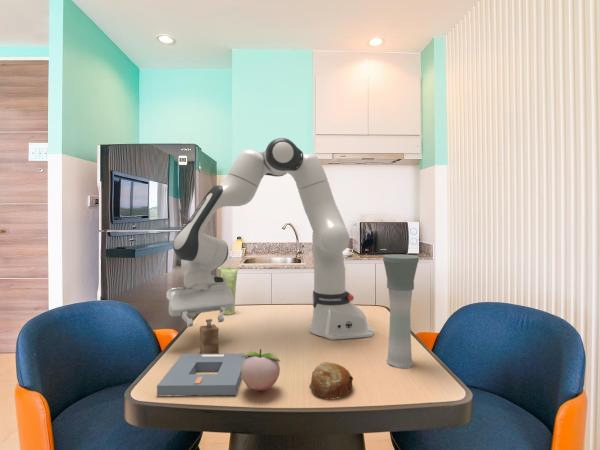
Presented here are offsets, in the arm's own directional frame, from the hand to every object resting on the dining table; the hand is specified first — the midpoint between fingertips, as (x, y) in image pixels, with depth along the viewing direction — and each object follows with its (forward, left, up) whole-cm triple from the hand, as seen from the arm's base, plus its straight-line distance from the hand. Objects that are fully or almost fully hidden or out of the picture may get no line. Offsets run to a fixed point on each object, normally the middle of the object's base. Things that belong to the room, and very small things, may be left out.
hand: (206, 323), depth 106 cm
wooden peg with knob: (-2, +3, -8) cm, 9 cm away
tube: (0, -39, -8) cm, 40 cm away
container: (-57, +10, -8) cm, 58 cm away
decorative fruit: (-19, +25, -8) cm, 33 cm away
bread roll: (-36, +24, -9) cm, 44 cm away
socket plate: (-5, +18, -8) cm, 20 cm away
